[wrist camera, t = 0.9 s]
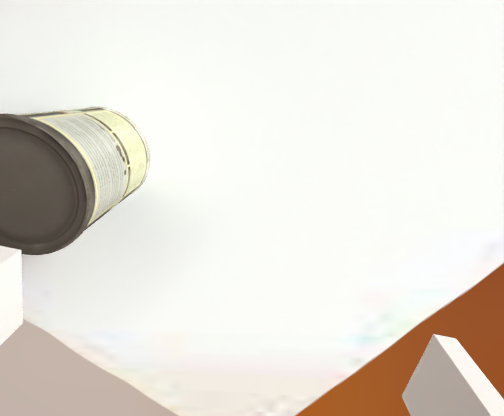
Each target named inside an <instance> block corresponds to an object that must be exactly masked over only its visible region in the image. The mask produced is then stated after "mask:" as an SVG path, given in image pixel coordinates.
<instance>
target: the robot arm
mask: <svg viewBox="0 0 504 416" xmlns="http://www.w3.org/2000/svg"><path fill="white" fill-rule="evenodd" d="M22 323H23V303H22V259H21V250H19V249H14V248H9V247H4V246H0V345H1V344H2V343H3V342H4V341H5V340H6V339H7V338H8V337H9V336H10V335H11V334H12V333H13V332H14V331H15V330H16V329H17V328H18V327H19V326H20V325H21V324H22ZM402 398H403V400H404V402H405V404H406V406H407V408H408V411H409V413H410V415H411V416H504V400H503V398H502V397H501V396H500V394H499V393H498V392H497V391H496V389H495V388H494V387H493V385H492V384H491V383H490V382H489V380H488V379H487V378H486V377H485V375H484V374H483V373H482V371H481V370H480V369H479V367H478V366H477V365H476V364H475V362H474V361H473V360H472V359H471V357H470V356H469V355H468V354H467V352H466V351H465V350H464V348H463V347H462V346H461V345H460V343H459V342H458V341H457V340H456V339H455V338H450V337H445V336H440V335H435V334H433V336H432V338H431V340H430V342H429V344H428V346H427V348H426V350H425V352H424V354H423V356H422V358H421V360H420V362H419V363H418V366H417V367H416V369H415V371H414V373H413V375H412V377H411V379H410V381H409V383H408V385H407V387H406V389H405V391H404V393H403V394H402Z"/></svg>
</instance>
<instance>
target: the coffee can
mask: <svg viewBox="0 0 504 416" xmlns="http://www.w3.org/2000/svg"><path fill="white" fill-rule="evenodd" d="M149 165H150V154H149V148H148V145H147V143H146V140H145V138H144V136H143V134H142V133H141V131H140V130H139V129H138V127H137V126H136V125H135V124H134V123H133V122H132V121H131V120H130V119H129V118H128V117H126V116H124V115H122V114H121V113H119V112H117V111H115V110H112V109H108V108H103V107H90V108H85V109H76V110H64V111H52V112H42V113H30V114H18V115H15V114H0V246H4V247H9V248H14V249H19V250H21V254H28V255H42V254H48V253H52V252H55V251H58V250H60V249H62V248H64V247H66V246H68V245H69V244H71V243H72V242H73V241H74V240H75V239H77V238H78V237H79V236H80V235H81V234H82V232H83V231H84V230H86V229H87V228H88V227H89V226H91V225H92V224H93V223H95V222H96V221H97V220H98V219H100V218H101V217H102V216H103V215H104V214H106V213H107V212H108V211H109V210H111V209H112V208H113V207H114V206H116V205H117V204H118V203H120V202H121V201H122V200H124V199H125V198H126V197H127V196H129V195H130V194H132V193H133V192H135V191H136V190H137V189H138V188H139V187H140V186H141V185H142V184H143V182H144V181H145V179H146V176H147V174H148V171H149Z"/></svg>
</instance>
